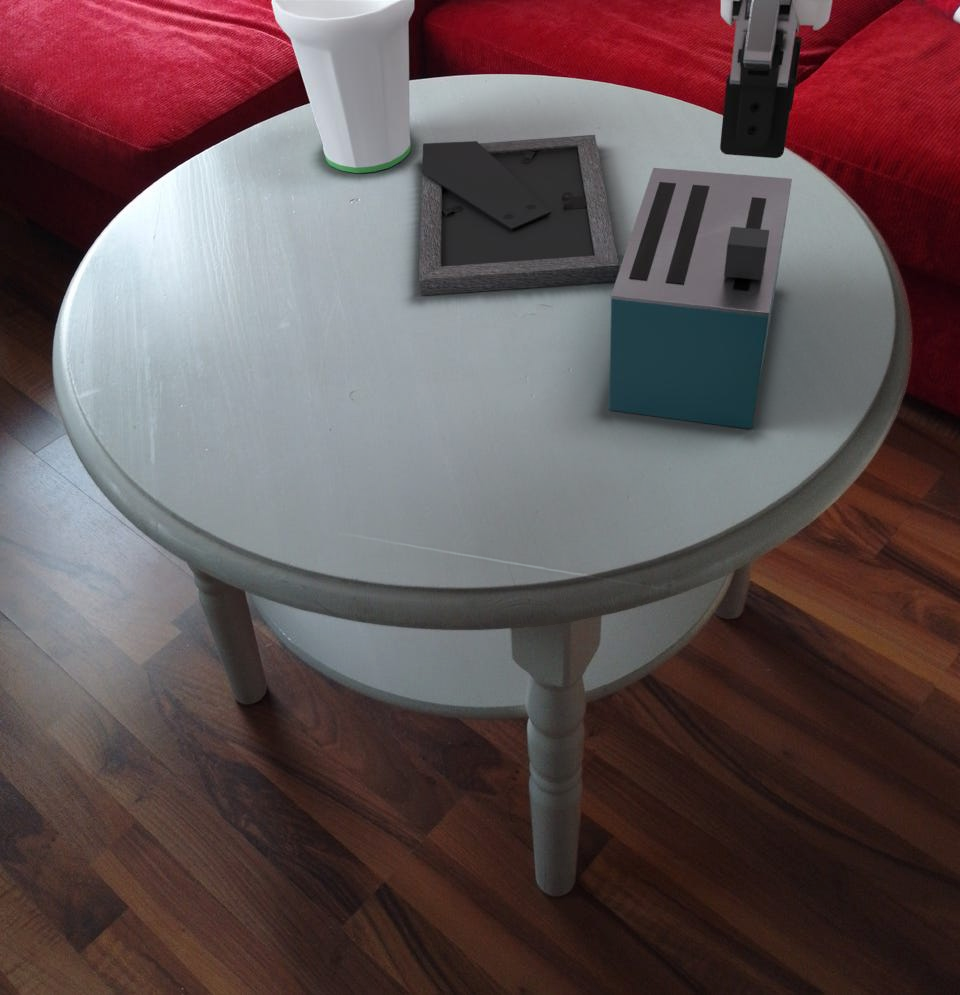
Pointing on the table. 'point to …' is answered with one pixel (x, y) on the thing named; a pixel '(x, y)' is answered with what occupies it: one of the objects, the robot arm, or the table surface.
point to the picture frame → (514, 216)
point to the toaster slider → (746, 253)
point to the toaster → (694, 299)
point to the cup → (354, 76)
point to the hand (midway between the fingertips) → (756, 128)
